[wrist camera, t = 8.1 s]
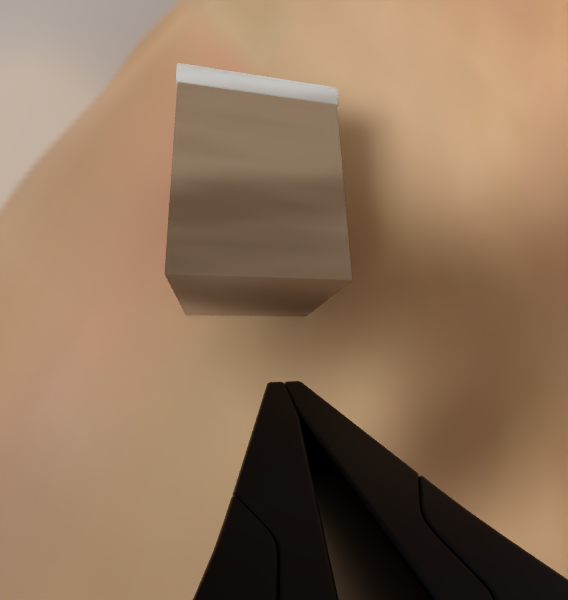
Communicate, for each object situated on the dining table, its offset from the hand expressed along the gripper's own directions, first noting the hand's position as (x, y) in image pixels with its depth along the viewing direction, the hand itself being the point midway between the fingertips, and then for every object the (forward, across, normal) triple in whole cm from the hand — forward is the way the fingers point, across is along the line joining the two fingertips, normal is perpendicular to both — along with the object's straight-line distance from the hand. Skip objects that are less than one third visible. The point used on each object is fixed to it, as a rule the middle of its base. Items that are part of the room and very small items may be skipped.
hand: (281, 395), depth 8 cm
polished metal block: (+6, 0, 0) cm, 6 cm away
